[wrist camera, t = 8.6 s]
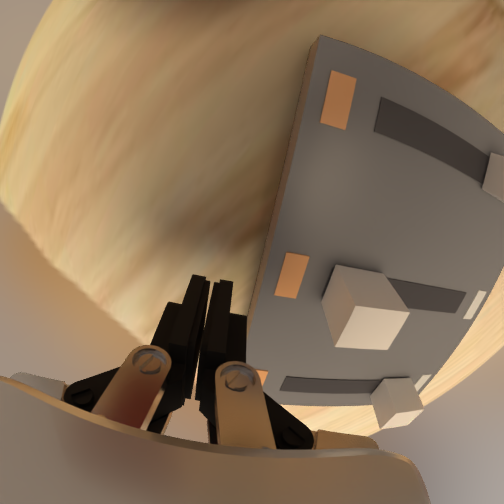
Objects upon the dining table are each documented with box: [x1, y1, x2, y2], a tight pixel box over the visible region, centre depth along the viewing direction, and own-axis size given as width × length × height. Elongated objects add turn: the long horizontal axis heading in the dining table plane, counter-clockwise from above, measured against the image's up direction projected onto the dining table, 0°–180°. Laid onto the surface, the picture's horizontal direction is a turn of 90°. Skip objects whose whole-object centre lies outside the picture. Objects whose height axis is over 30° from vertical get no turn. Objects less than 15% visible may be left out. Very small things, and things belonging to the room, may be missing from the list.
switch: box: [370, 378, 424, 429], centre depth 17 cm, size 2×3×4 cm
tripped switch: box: [321, 265, 410, 350], centre depth 13 cm, size 2×3×4 cm
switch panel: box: [246, 35, 504, 406], centre depth 16 cm, size 24×18×3 cm
